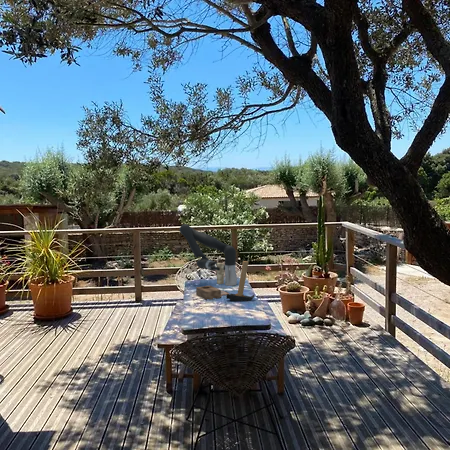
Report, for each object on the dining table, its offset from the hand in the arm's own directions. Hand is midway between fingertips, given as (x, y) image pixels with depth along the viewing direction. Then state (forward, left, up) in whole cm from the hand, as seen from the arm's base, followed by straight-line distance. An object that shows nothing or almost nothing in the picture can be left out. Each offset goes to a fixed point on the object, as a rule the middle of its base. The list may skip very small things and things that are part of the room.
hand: (221, 268), depth 331 cm
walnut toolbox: (+12, -1, -20) cm, 23 cm away
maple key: (0, -3, -12) cm, 12 cm away
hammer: (-2, +23, -20) cm, 31 cm away
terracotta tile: (0, -3, -20) cm, 20 cm away
